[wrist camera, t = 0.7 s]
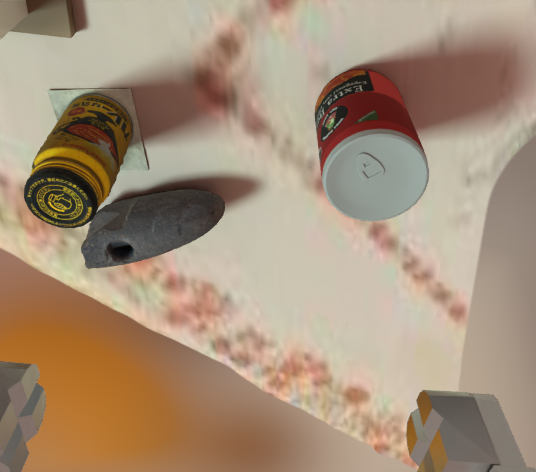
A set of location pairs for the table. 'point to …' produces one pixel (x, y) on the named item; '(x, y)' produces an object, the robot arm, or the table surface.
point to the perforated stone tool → (149, 226)
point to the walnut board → (48, 18)
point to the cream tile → (11, 14)
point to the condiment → (84, 155)
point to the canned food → (368, 147)
